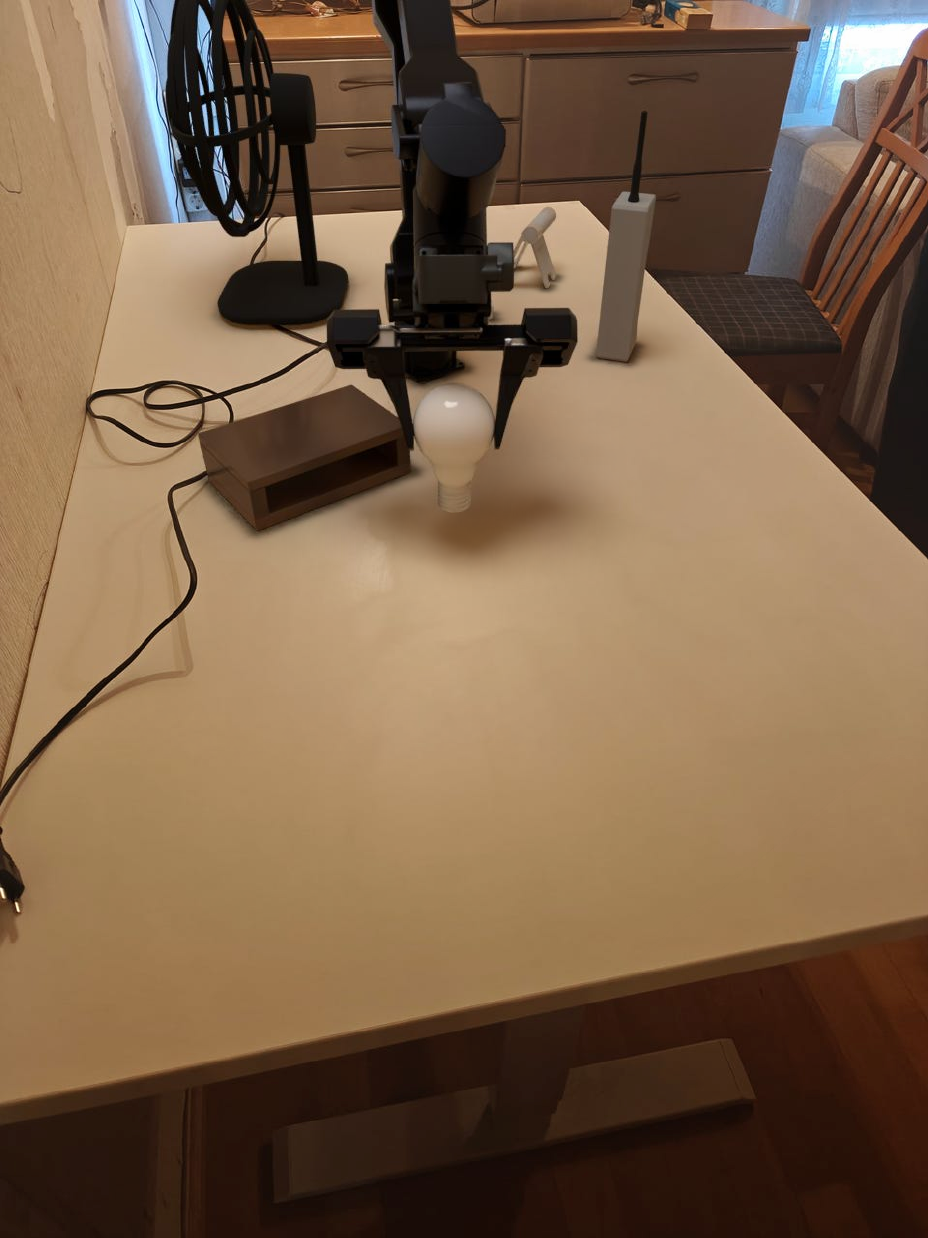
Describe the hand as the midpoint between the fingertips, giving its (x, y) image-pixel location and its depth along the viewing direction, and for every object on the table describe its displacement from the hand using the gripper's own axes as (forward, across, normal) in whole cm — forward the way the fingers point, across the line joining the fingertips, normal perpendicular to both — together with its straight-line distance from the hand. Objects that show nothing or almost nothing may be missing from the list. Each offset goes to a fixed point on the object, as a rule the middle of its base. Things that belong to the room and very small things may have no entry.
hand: (453, 448), depth 67 cm
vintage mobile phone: (-19, +20, +34) cm, 44 cm away
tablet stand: (-36, +11, +50) cm, 62 cm away
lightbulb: (+4, 0, +6) cm, 7 cm away
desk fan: (-32, -22, +46) cm, 60 cm away
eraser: (-26, +3, +41) cm, 49 cm away
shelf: (-1, -13, +15) cm, 20 cm away
